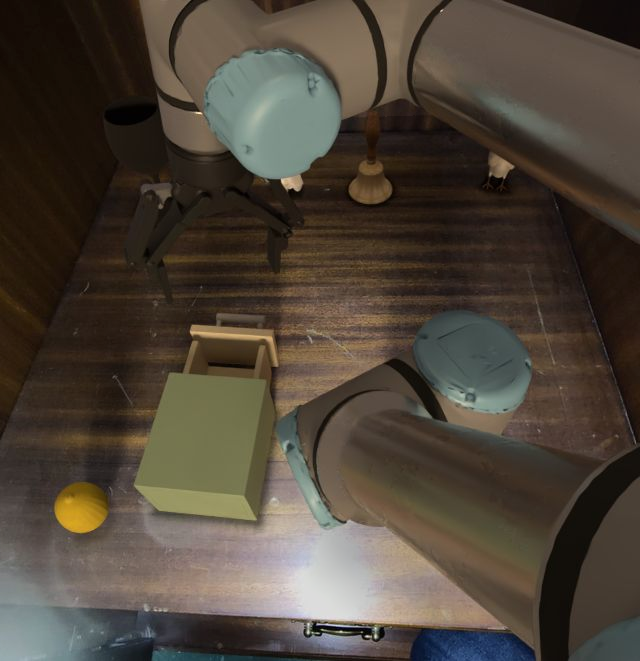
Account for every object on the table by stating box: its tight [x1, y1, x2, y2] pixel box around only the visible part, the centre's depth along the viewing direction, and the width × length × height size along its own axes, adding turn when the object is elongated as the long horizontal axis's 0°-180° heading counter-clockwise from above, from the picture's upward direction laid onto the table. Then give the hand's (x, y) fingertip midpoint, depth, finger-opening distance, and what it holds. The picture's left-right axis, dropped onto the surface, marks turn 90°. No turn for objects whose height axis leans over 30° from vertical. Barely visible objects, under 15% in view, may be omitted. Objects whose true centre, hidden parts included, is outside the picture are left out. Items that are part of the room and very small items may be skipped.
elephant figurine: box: [281, 174, 305, 193], centre depth 97 cm, size 7×8×6 cm
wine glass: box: [102, 94, 174, 227], centre depth 90 cm, size 10×10×20 cm
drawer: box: [182, 312, 280, 387], centre depth 71 cm, size 18×11×8 cm, turn 174°
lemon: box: [53, 481, 110, 534], centre depth 62 cm, size 6×6×8 cm
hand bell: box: [348, 109, 393, 205], centre depth 92 cm, size 8×8×16 cm
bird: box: [481, 151, 516, 192], centre depth 91 cm, size 5×14×15 cm, turn 163°
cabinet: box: [133, 372, 276, 522], centre depth 65 cm, size 15×13×10 cm
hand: (222, 280), depth 64 cm, fingers open, 13 cm apart
